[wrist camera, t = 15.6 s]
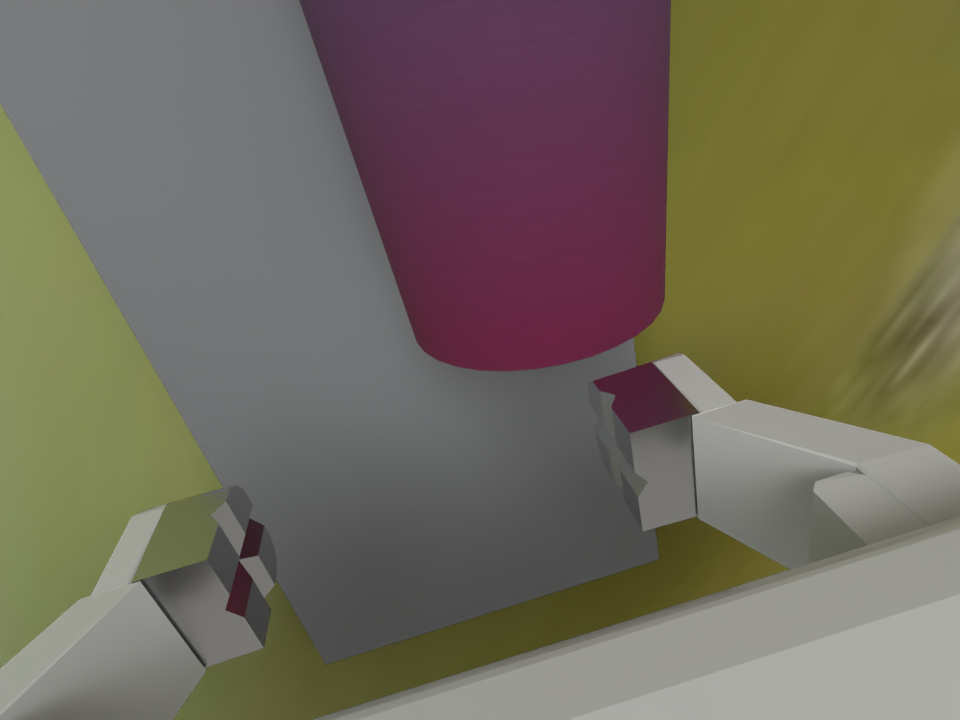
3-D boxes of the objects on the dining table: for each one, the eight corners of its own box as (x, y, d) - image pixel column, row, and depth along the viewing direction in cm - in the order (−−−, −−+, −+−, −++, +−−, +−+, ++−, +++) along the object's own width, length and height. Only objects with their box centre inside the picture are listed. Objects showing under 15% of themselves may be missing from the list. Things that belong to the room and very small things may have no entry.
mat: (326, 644, 21) (325, 664, 20) (-41, -10, 11) (-69, -15, 10) (649, 542, 21) (659, 559, 21) (561, -161, 12) (573, -175, 11)
